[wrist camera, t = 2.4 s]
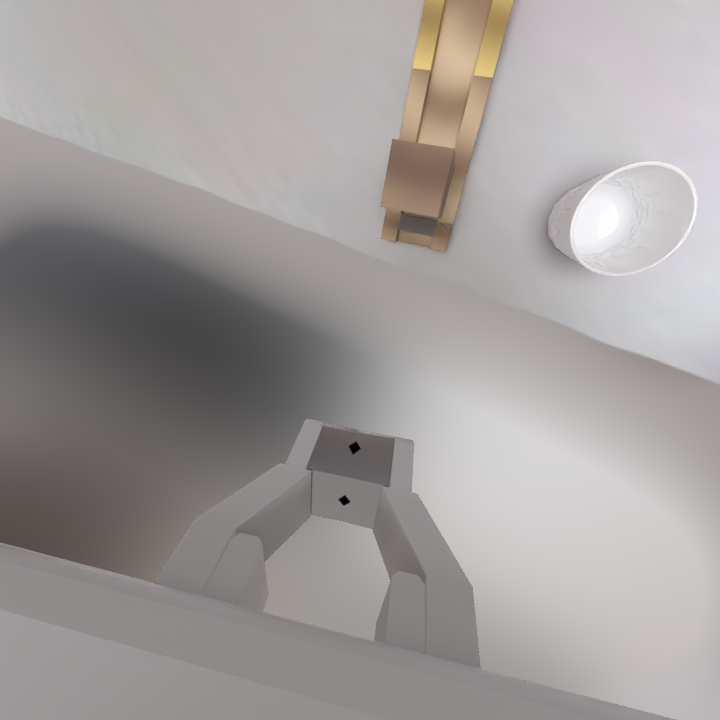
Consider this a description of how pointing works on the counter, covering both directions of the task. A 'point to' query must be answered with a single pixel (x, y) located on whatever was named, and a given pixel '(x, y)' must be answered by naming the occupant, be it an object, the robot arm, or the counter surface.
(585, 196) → the white cup
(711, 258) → the counter surface
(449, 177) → the plate
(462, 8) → the beam
